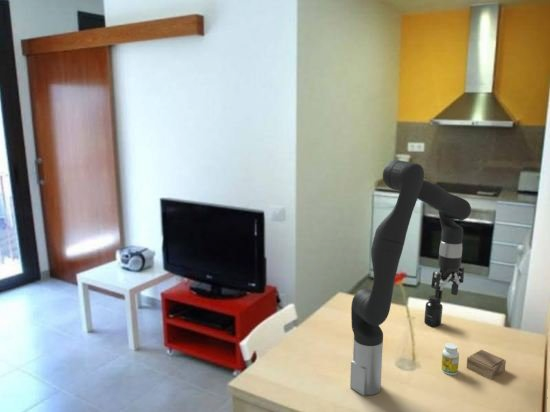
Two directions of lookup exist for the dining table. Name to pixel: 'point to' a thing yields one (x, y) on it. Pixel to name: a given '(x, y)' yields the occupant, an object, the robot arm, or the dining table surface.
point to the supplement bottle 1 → (433, 312)
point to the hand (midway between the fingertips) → (446, 296)
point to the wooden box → (486, 364)
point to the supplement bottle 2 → (450, 359)
